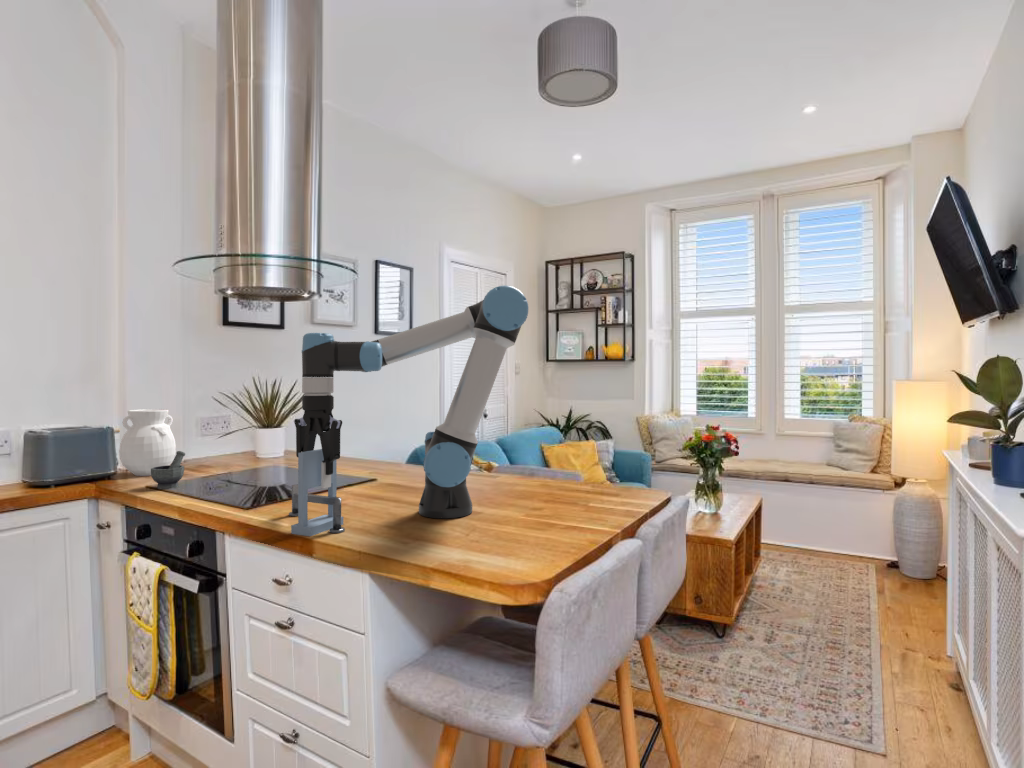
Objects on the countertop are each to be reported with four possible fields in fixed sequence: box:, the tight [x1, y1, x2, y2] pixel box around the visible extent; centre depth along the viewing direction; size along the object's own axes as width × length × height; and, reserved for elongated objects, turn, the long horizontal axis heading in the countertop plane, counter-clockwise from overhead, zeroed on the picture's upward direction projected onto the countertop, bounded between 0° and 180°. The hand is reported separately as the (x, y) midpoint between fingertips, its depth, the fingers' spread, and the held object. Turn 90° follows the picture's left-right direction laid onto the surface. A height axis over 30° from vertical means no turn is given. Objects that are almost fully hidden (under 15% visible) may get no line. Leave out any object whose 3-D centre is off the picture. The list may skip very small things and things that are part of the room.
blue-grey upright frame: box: [290, 448, 344, 537], centre depth 142 cm, size 6×12×20 cm, turn 157°
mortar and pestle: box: [150, 450, 186, 490], centre depth 194 cm, size 11×9×12 cm
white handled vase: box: [118, 408, 177, 477], centre depth 219 cm, size 19×18×25 cm
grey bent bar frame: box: [288, 484, 346, 534], centre depth 147 cm, size 27×8×8 cm, turn 46°
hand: (318, 486), depth 142 cm, fingers open, 4 cm apart
